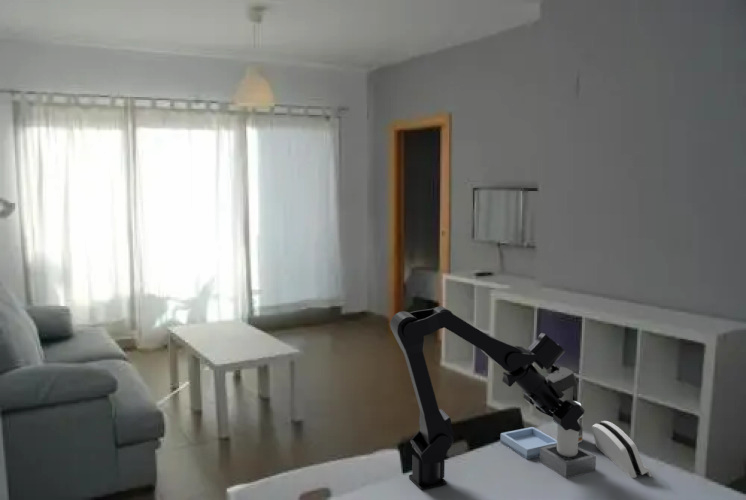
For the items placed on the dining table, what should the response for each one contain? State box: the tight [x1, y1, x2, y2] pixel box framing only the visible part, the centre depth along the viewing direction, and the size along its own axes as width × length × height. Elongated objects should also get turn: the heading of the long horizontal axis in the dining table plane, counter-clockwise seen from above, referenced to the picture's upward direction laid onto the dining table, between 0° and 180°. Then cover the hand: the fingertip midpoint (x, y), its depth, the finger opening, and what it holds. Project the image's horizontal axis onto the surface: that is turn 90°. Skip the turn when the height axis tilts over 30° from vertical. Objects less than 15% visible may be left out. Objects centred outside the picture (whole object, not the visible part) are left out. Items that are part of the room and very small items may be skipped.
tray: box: [500, 426, 557, 460], centre depth 149 cm, size 11×11×2 cm
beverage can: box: [556, 419, 579, 457], centre depth 138 cm, size 5×5×12 cm
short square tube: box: [539, 444, 597, 479], centre depth 138 cm, size 9×9×4 cm
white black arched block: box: [591, 420, 652, 479], centre depth 141 cm, size 17×5×10 cm, turn 6°
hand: (573, 425), depth 138 cm, fingers closed on beverage can, 5 cm apart
